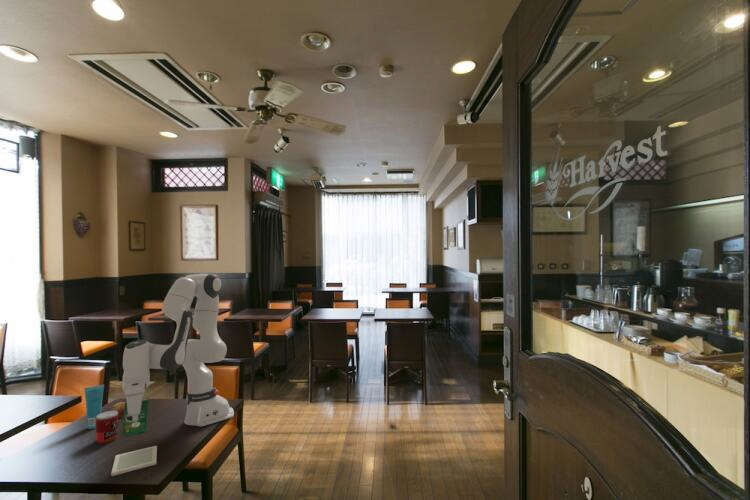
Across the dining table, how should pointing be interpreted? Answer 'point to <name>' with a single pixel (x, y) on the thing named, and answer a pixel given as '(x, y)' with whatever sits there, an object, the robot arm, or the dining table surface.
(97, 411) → the tube
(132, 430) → the coffee box
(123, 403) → the bread roll
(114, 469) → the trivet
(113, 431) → the canned food
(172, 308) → the robot arm
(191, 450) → the dining table surface
